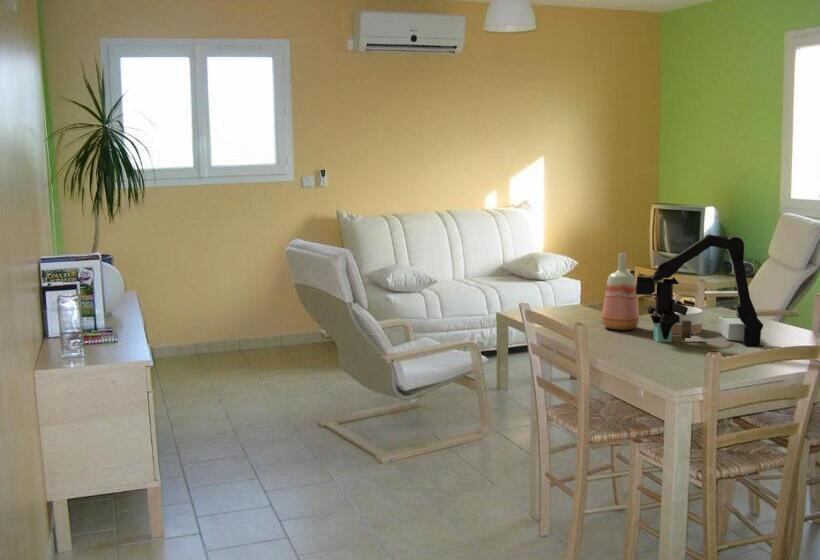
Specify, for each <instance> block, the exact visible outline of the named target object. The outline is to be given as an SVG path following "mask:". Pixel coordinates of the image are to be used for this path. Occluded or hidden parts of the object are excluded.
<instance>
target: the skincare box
mask: <svg viewBox="0 0 820 560" xmlns="http://www.w3.org/2000/svg"><path fill="white" fill-rule="evenodd" d="M744 327H745V325H744V323H742V322H741V320H740V319H739V318H738V317H737V316H729V315H726V316H724V315H720V316H719V318H718V330H717V331H718V333H719V334H721V335H722V336H723V337H724V338H725V339H726V340H727V339H728V341H737V342H740V341H744Z"/></svg>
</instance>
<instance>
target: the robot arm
mask: <svg viewBox="0 0 820 560" xmlns="http://www.w3.org/2000/svg"><path fill="white" fill-rule="evenodd" d="M710 247H715V248H720V249H725V250H726V251H727V254H728V257H729V258H730V260H731V261H730V262H731V265H732V269H733V274H734V281H735V287H736V290H737V297H738V304H737V303H735V304H734V308H735V311H736V313H735V315H736V316H735V317H738V318H739V319H740V320H741V322H742V323H744V325H745V327H744V341H739V343H740V344H742V345H743V346H746V347H764V346H765V344H763V343H761V341H762V340H761V338H762V337H761V336H762V329H763V328H764V324H763V323H762V322H761V320H760V319H759V318H758V314H757V312H756V309H755V306H754V304H753V302H752V300H751V295H750V289H749V286H748V285H749V284H748V280H747V279H748V278H747V274H746V268H745V264H744V258H745V242H744V241H743V239H742V238H741V237H740V236H738V235H730V236H723V235H715V234H714V235H713V234H711V233H710V234H706V235H705V236H703V238H701V239H699V240H698V241H696V242H695V243H694V244H692V245H690V246H689V247H687V248H686V249H684V250H683V251H681V252H680V253H678V254H676V255H674V256H672V257H668V258H667V259H666V258H665V259H663V260H662V261H660V262H659V263H658V264H657V268H656V269H657V270H656V271H655V272H654V273H653V274H652V276H642V275H637V276H636V283H635V284H636V295H638V296H639V295H640V296H641V295H643V296H651V295H652V294H654V293H655V290H656V294H655V295H656V296H655V297H654V301H655V305H650V306H649V307H648V309H647V314H649V315H650V318H651V321H652V323H653V324H654V323H659V324H660V328H661V331H662V335H663V338H664V339H667V338H668V335H669V332H670V329H671V327H672V326H673V325H674V324H676V323H679V322H680V317H679V316H678V315H677V314H675V312H677V313H680V314H682V315H684V316H685V315H686V313H687V310H688V308H687V307H685V306H686V305H683V304H682V301H680V300H678V299H677V300H675V299H674V298H673V293H674V292H673V290H674V285H679V284H680V283H679V280H677V279H676V277H675V276H674V275H675V273H677V272H678V271H679V270H680V269H681V267H682V266H683V265H684V264H687V262H690V260H692V259H694V258H695V257H697V256H698V255H700V254H701V253H703V252H705V251H706V250H707V249H709V248H710ZM672 276H673V277H672ZM671 277H672V278H671Z"/></svg>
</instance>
